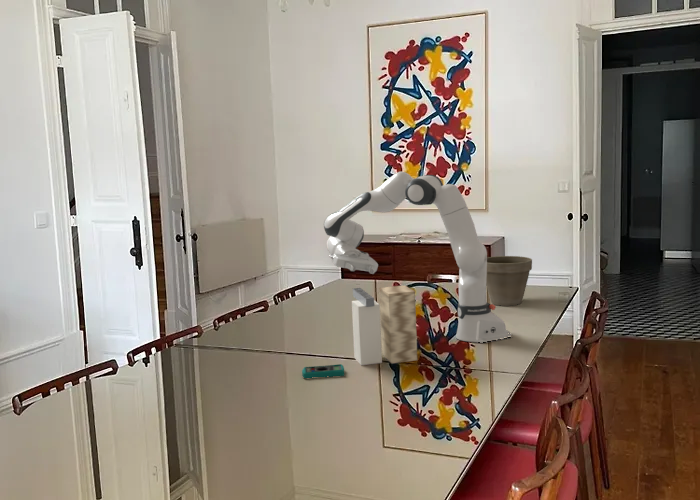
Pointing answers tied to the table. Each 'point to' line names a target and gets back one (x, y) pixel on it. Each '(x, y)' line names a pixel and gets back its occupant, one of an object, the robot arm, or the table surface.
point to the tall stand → (398, 323)
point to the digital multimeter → (323, 371)
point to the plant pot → (507, 279)
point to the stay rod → (363, 297)
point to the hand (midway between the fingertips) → (363, 270)
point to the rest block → (366, 333)
